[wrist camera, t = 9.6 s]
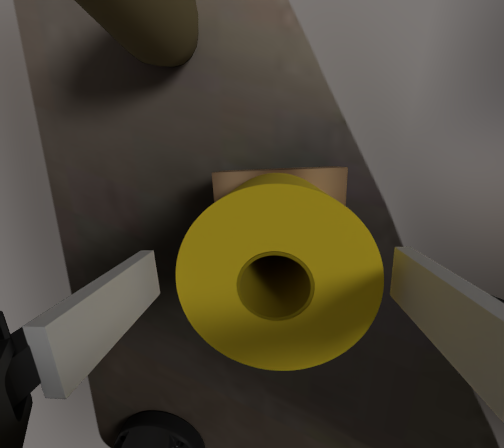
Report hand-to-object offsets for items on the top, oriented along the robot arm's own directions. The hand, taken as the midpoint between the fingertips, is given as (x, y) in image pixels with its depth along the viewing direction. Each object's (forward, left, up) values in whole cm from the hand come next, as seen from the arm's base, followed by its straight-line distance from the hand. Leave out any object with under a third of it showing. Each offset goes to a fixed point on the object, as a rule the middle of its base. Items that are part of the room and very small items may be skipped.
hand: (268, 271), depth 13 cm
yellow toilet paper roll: (0, 0, -8) cm, 8 cm away
